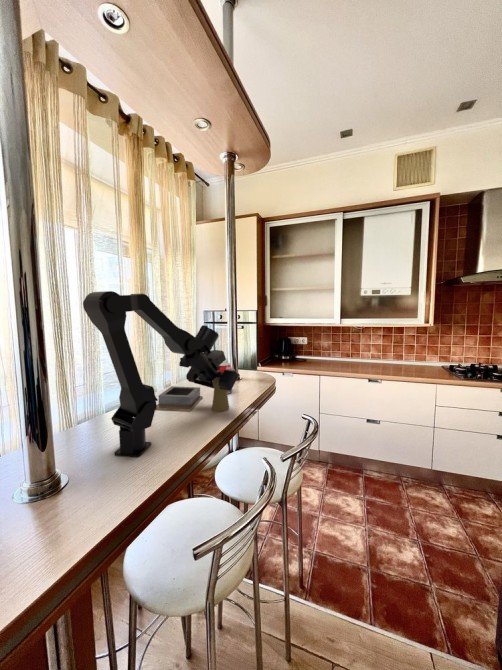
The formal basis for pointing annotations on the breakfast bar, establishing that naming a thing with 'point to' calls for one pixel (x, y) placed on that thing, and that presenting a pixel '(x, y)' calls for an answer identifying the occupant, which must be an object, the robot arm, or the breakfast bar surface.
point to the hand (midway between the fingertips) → (222, 389)
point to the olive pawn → (219, 398)
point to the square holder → (179, 399)
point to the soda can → (224, 368)
